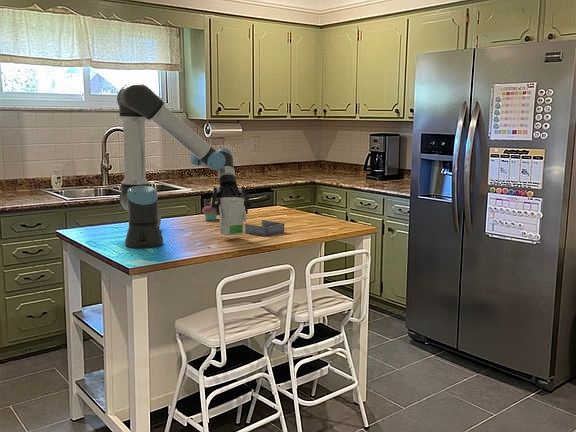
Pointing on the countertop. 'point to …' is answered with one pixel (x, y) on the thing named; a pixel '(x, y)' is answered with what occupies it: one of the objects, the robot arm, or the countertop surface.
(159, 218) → the garlic bulb
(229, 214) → the skincare box
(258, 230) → the tray
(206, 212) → the cupcake
